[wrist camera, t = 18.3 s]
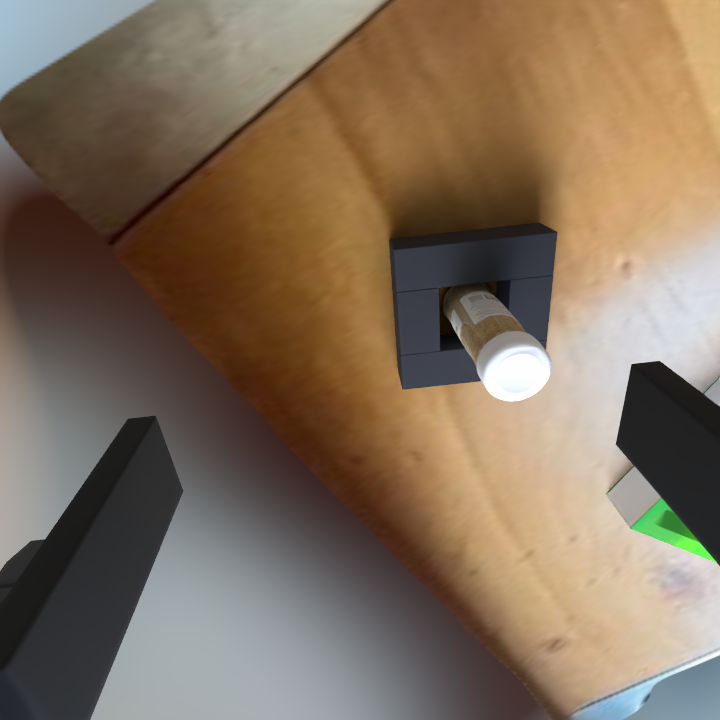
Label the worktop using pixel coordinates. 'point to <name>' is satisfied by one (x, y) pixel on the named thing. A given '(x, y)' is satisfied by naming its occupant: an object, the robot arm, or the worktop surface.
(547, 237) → the dark grey square frame
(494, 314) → the sprinkles bottle
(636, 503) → the green board game box
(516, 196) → the worktop surface
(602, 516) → the worktop surface
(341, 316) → the worktop surface
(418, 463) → the worktop surface
